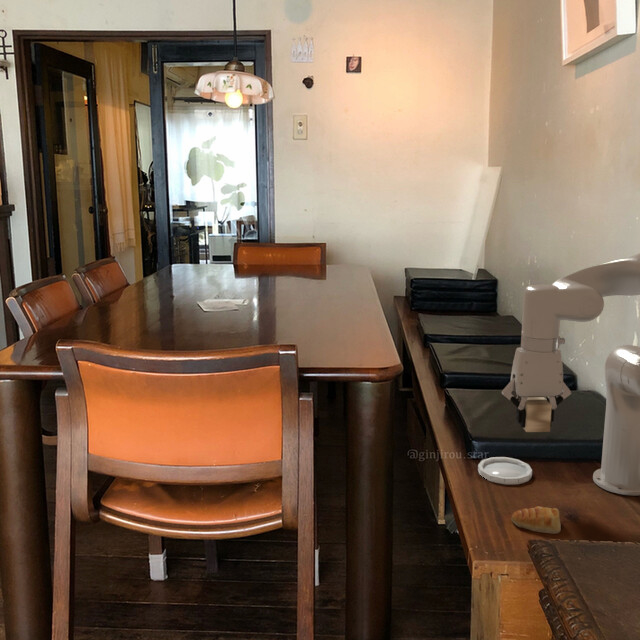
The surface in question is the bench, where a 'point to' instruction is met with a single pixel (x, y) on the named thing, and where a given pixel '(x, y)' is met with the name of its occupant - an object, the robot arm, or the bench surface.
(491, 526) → the bench surface
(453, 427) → the bench surface
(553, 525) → the pastry
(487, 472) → the dish
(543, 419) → the maple block
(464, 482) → the bench surface
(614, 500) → the bench surface
